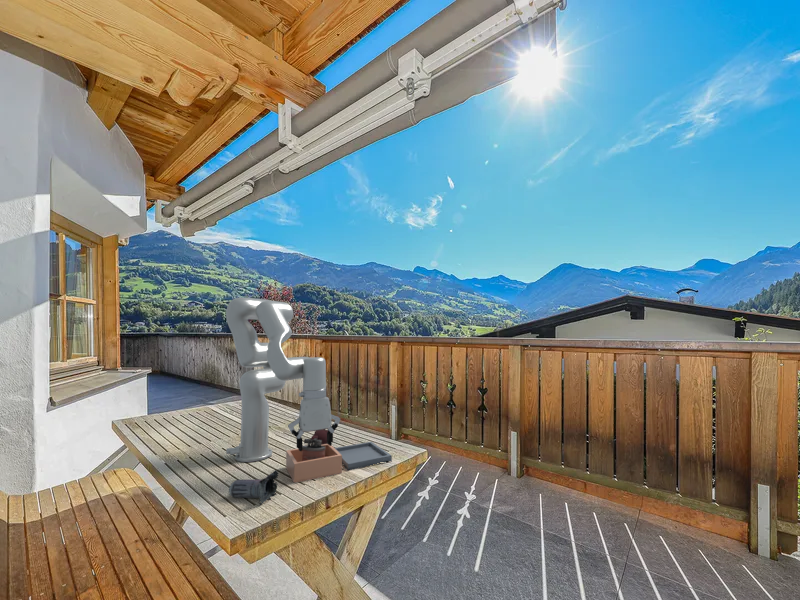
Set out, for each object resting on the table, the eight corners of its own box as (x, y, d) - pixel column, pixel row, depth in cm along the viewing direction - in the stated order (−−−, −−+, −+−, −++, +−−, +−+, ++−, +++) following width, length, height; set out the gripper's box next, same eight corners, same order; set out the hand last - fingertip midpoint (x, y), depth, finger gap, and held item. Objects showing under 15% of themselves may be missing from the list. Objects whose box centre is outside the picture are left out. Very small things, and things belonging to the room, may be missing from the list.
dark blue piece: (278, 499, 96) (239, 498, 98) (280, 469, 98) (242, 469, 100) (260, 508, 87) (217, 507, 89) (262, 475, 90) (221, 475, 91)
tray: (348, 470, 112) (348, 464, 112) (332, 453, 128) (332, 448, 128) (391, 461, 119) (391, 455, 120) (371, 446, 135) (371, 441, 135)
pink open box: (294, 482, 103) (294, 463, 103) (286, 467, 115) (286, 450, 116) (341, 472, 110) (341, 455, 110) (329, 459, 122) (329, 443, 123)
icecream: (318, 424, 146) (302, 438, 131) (334, 420, 145) (319, 434, 130) (322, 440, 145) (306, 455, 131) (338, 436, 144) (324, 451, 129)
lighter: (326, 468, 113) (327, 437, 114) (322, 472, 110) (323, 440, 111) (304, 467, 115) (304, 436, 116) (299, 471, 111) (300, 439, 112)
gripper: (290, 399, 107) (290, 455, 106) (342, 393, 116) (343, 445, 114) (286, 395, 114) (286, 449, 112) (336, 390, 122) (336, 440, 120)
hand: (315, 447), depth 113 cm, fingers open, 9 cm apart
